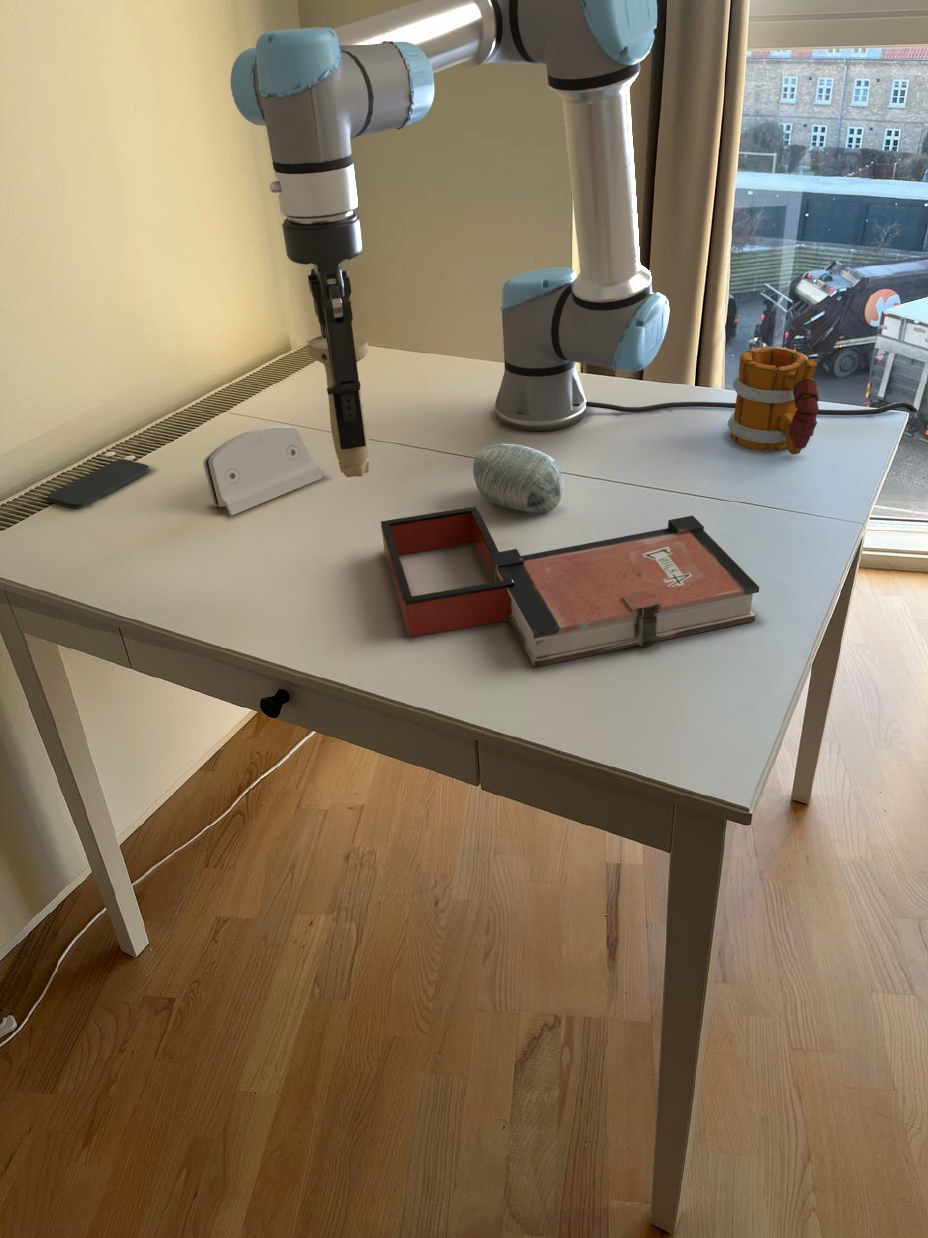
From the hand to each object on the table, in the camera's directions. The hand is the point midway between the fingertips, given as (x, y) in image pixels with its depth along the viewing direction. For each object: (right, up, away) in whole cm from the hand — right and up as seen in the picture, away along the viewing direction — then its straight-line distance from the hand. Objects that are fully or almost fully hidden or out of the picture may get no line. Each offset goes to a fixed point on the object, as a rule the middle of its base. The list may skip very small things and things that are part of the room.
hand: (350, 437), depth 106 cm
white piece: (-17, -1, +38) cm, 42 cm away
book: (+31, -19, +6) cm, 37 cm away
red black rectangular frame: (+10, -16, +13) cm, 23 cm away
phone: (-44, +1, +43) cm, 61 cm away
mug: (+60, +7, +40) cm, 72 cm away
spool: (+20, -4, +29) cm, 36 cm away
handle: (0, -4, +2) cm, 4 cm away
